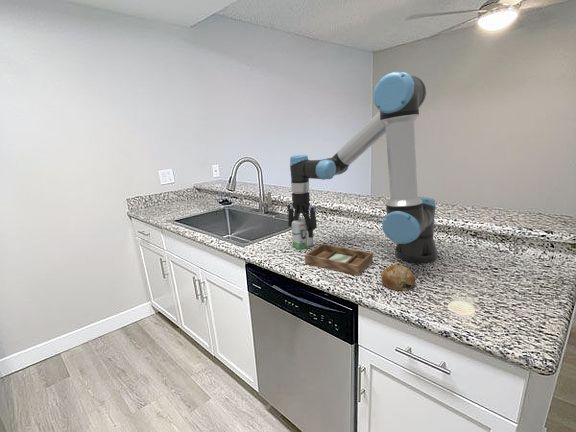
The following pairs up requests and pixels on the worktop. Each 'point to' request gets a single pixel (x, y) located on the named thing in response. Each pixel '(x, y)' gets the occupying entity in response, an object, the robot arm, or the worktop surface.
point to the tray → (339, 259)
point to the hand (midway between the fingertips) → (303, 242)
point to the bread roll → (398, 278)
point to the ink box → (300, 234)
